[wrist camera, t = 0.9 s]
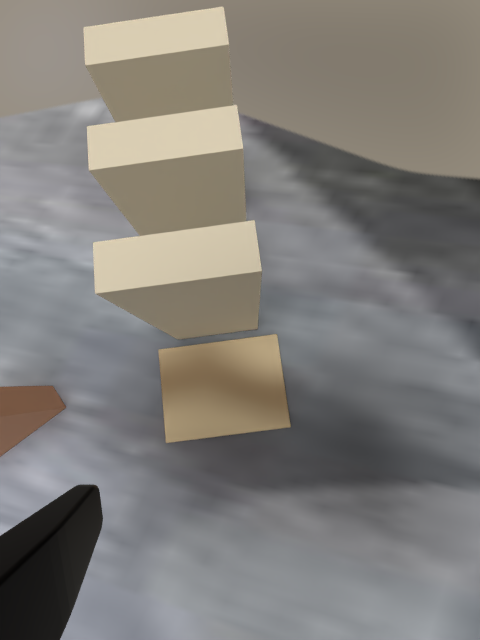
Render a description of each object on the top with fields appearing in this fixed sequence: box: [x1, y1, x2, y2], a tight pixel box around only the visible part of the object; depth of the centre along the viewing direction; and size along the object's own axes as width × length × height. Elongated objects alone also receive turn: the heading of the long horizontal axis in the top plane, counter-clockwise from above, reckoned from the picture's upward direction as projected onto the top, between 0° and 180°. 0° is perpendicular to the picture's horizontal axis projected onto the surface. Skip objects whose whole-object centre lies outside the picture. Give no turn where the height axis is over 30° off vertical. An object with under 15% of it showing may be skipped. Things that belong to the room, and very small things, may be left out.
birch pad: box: [159, 334, 291, 443], centre depth 22 cm, size 6×8×1 cm
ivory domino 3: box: [93, 220, 262, 340], centre depth 17 cm, size 2×6×12 cm, turn 97°
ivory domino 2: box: [87, 105, 246, 236], centre depth 18 cm, size 2×6×12 cm, turn 97°
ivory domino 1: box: [84, 7, 233, 122], centre depth 18 cm, size 2×6×12 cm, turn 97°
